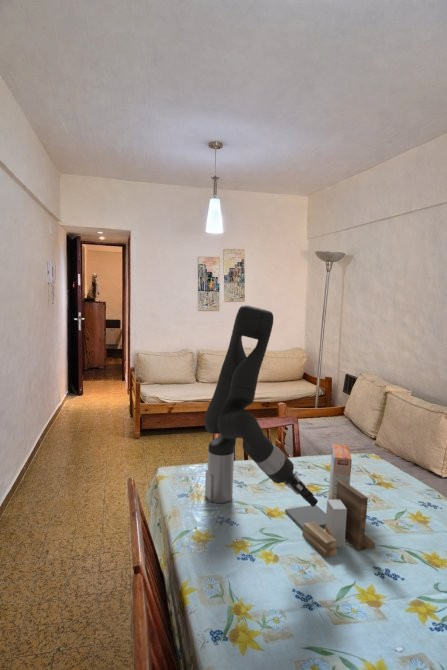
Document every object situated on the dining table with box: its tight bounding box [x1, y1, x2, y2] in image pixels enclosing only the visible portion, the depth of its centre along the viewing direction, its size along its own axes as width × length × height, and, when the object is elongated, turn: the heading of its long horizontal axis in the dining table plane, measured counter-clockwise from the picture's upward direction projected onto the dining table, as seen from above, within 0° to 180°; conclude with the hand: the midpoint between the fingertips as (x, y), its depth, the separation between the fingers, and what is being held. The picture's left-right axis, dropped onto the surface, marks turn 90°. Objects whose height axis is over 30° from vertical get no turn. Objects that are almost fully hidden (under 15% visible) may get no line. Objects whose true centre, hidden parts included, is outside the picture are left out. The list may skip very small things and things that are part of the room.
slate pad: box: [284, 504, 326, 531], centre depth 142 cm, size 12×12×1 cm
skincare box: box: [324, 499, 347, 548], centre depth 128 cm, size 6×4×12 cm
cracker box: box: [327, 443, 353, 500], centre depth 148 cm, size 14×6×21 cm, turn 168°
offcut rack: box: [301, 480, 376, 559], centre depth 128 cm, size 18×12×16 cm
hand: (307, 496), depth 124 cm, fingers open, 8 cm apart
